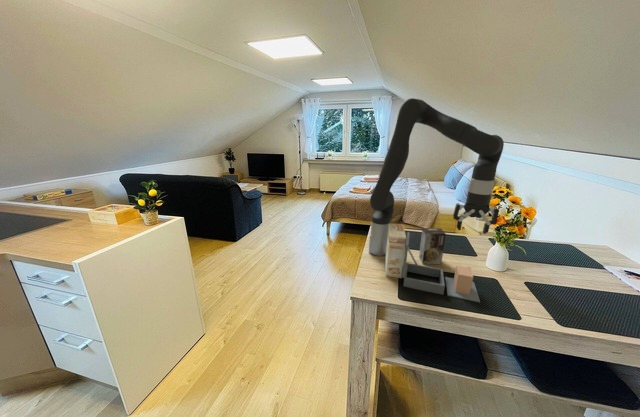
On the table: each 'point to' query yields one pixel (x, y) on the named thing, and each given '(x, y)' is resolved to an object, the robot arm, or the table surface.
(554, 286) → the table surface
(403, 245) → the coffeecake box
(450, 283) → the mat
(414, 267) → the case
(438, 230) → the coffee box
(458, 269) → the block
